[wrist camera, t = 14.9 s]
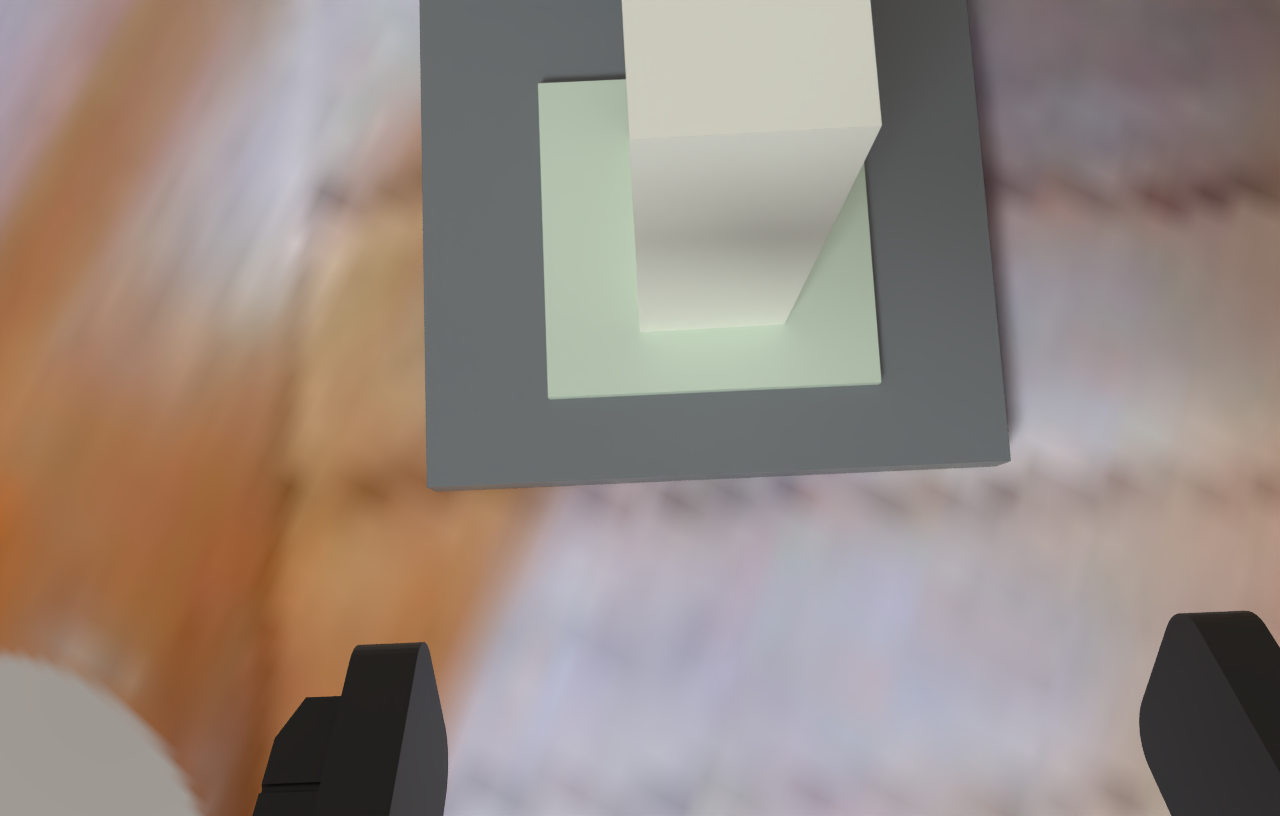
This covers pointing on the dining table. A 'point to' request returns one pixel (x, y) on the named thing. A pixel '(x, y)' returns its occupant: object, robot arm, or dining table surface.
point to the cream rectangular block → (741, 149)
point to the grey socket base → (607, 277)
